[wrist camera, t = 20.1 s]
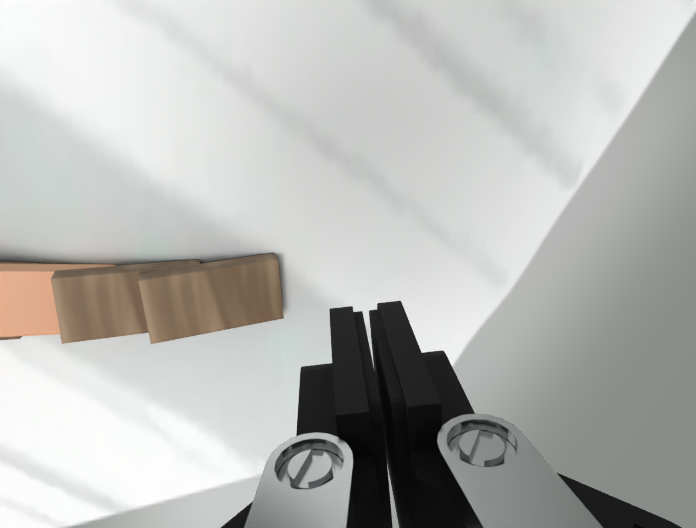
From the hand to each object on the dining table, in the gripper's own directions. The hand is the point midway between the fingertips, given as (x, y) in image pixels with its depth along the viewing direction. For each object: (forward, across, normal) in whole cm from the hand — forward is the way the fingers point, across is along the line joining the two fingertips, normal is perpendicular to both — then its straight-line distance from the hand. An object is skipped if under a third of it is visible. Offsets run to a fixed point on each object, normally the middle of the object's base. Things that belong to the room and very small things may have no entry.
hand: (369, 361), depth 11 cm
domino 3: (+26, +5, +8) cm, 28 cm away
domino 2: (+26, +12, +8) cm, 30 cm away
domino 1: (+26, +18, +8) cm, 33 cm away
